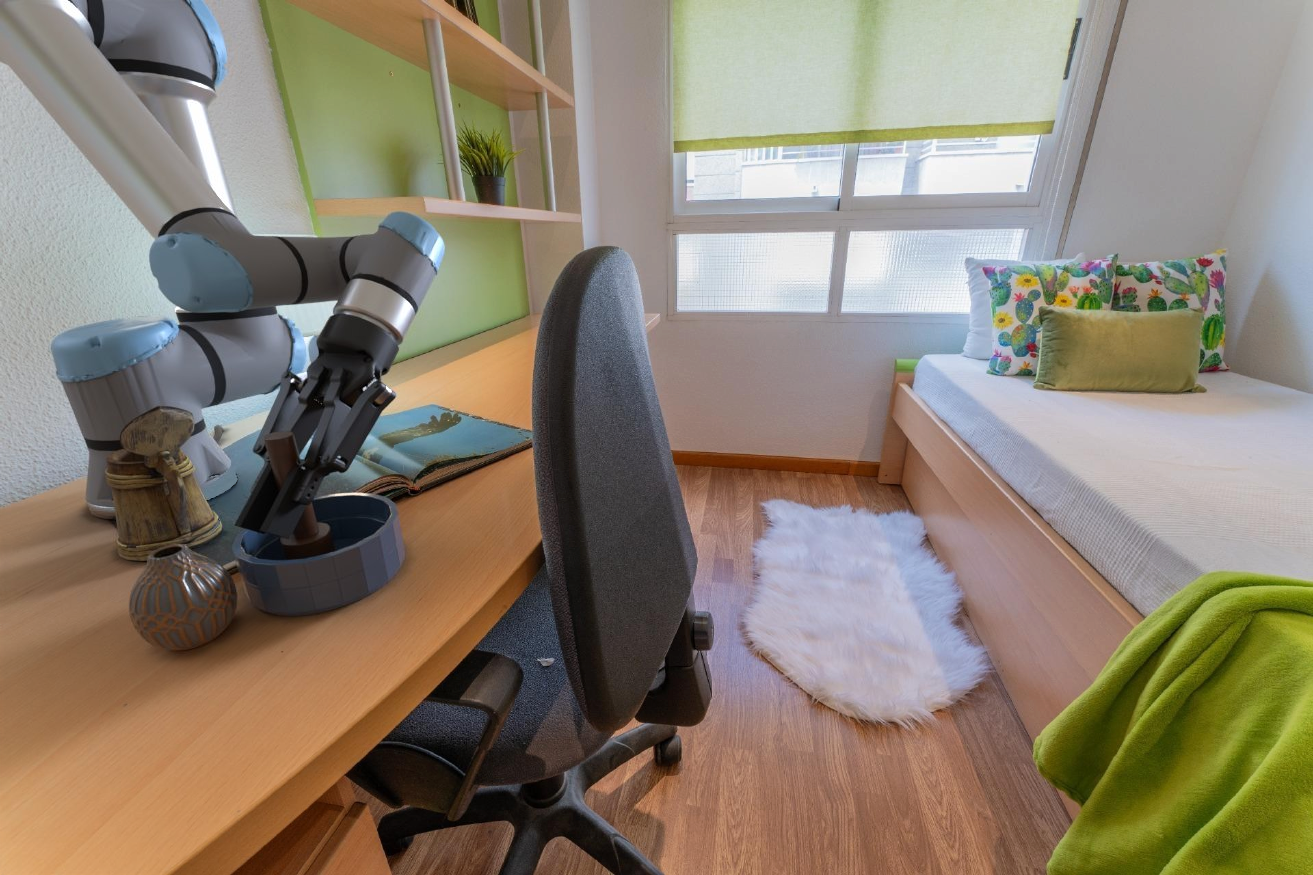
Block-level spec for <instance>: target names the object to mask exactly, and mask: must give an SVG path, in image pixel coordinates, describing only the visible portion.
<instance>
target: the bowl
mask: <svg viewBox="0 0 1313 875" xmlns="http://www.w3.org/2000/svg"><path fill="white" fill-rule="evenodd" d="M312 505H313V509H314V513H315V517H316V521H317V522H318V523H325V524H327V525H329V527H330V530H331V534H332V538H333V541H334V545H335V549H336V551H335V552H332V553H328V554H324V555H319V556H315V557H310V558H306V559H295V560H286V558H285V555H284V552H283V548H282V545H281V542H280V539H281V537H279V536H275V535H272V534H269V533H266V532H265V534H262V533H257V532H254V531H251V530H248V529H244V528H242V529H241V530H240V531H239V532H238V533H237V534H236V535H235V536H234V539H233V542H232V545H231V552H232V555H233V557H234V558H233V559H234V561H235V565H236V568H237V571H238V574H239V577H240V580H241V583H242V587H243V590H244V593H245V596H246V597H247V599H248V602H249V603H250V604H251V605H252V606H254V607H255V608H258V609H260V610H261V611H263V612H266V613H268V614H273V615H276V616H283V617H284V616H285V617H286V616H288V617H296V616H309V615H315V614H320V613H326V612H329V611H332V610H336V609H339V608H342V607H345V606H348V605H351V604H353V603H356V602H358V601H360V600H363V599H364V598H366V597H368V596H370V595H372V594H374V593H375V592H377V591H378V590H380V589H382V587H384V586H385V585H387V584H388V583H389V582H390V581H391V580H392V579H393V578H394V577H395V575H396V574H397V573H398V572H399V570H400V569H401V567H402V565H403V562H404V561H405V559H406V550H405V545H404V539H403V532H402V527H401V526H402V525H401V521H400V517H399V516H400V515H399V511H398V506H397V503H395V502H394V501H392V500H391V499H390V498H389V497H387V496H383V495H379V494H375V493H366V492H342V493H332V494H326V495H321V496H315V497H314V499H313V501H312Z"/></svg>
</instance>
